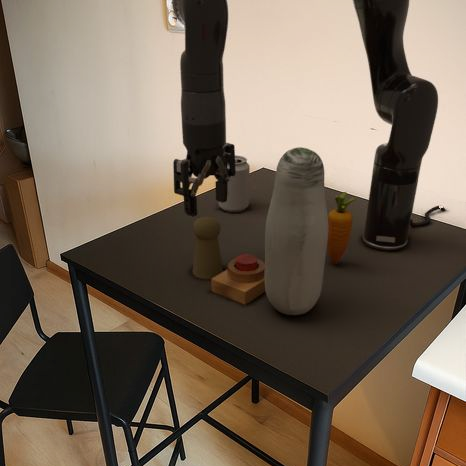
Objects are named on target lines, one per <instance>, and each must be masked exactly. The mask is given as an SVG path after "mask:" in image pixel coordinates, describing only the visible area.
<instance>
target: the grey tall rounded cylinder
mask: <svg viewBox="0 0 466 466" xmlns="http://www.w3.org/2000/svg"><path fill="white" fill-rule="evenodd" d="M273 185H274V186H273V191H272V196H271V200H270V204H269V207H268V212H267V216H266V221H265V231H264V233H265V234H264V264H265V294H266V298H267V300H268V302H269V303H270V304H271V306H272V307H273V308H274V309H275V310H276V311H278V312H280V313H281V314H283V315H287V316H299V315H304V314H306V313H307V312H309V311H311V310H312V309H313V308H314V306H315V305H316V304H317V302H318V300H319V299H320V296H321V294H322V289H323V284H324V276H325V265H326V257H327V252H328V249H327V242H328V214H329V213H328V207H327V202H326V201H327V200H326V189H325V188H326V187H325V166H324V162H323V160H322V158H321V156H320V155H319V154H318V152H316V151H314V150H312V149H310V148H307V147H294V148H291V149H288V150H287V151H285V152H284V154H282V156H281V157H280V159H279V160H278V163H277V165H276V170H275V179H274V184H273Z"/></svg>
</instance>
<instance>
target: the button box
mask: <svg viewBox="0 0 466 466" xmlns="http://www.w3.org/2000/svg"><path fill="white" fill-rule="evenodd" d="M210 280H211V281H210V282H211V292H213V293H215V294H217V295H220V296H222V297H225V298H227V299H230V300H232V301H235V302H237V303H240V304H242V305H247V304H249V303H250V302H252V301H253V300H255V299H256V298H258V297H259V296H261V295H262V294H264V293H266V291H265V261H263V260H262V259H259V258H257V269H256V270H253V271H240V270H238V269H236V258H233V259H232V260H229V262H228V264H227V269H225V270H223V272H222V273H220V274H219V275H217V276H215V277H213V278H212V279H210Z"/></svg>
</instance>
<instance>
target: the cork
mask: <svg viewBox="0 0 466 466" xmlns="http://www.w3.org/2000/svg"><path fill="white" fill-rule="evenodd" d="M192 232H193V234H194V236H195V245H194V255H193V264H192V265H193V266H192V274H193V276H194V277H196V278H198V279H202V280H211V279H212V278H213V277H215V276H217V275H219V274H220V273H222V272H224V268H223V261H222V256H221V248H220V242H219V235H220V233H221V224H220V222H219V220H218V219H217V218H214V217H211V216H203V217H199V218H197V219H195V220H194V223H193V225H192Z"/></svg>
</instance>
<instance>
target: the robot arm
mask: <svg viewBox="0 0 466 466" xmlns="http://www.w3.org/2000/svg"><path fill="white" fill-rule="evenodd" d="M171 4H172V12H173V14H174V16H175V18H176V19H177V21H178V22H179V23H180V24H181V25H183V26H184V50H183V51H182V52H181V55H180V60H179V63H180V64H179V69H180V70H179V71H180V87H181V88H180V89H181V93H180V114H181V116H180V117H181V130H182V131H181V132H182V133H181V134H182V135H181V136H182V145H183V147H184V148H185V149H186V156H185V158H183V159H179V158H175V159H174V160H173V163H172V164H173V165H172V167H173V193H174V194H176V195H179V196H182V197H183V207H184V208H183V210H184V213H185V214H186V215H187V216H190V217H196V216H197V215H198V202H197V201H198V200H197V196H196V195H197V192H198V190H199V187H200V186H202V185H203V183H204V181H205V179H209V177H210V176H214V178H215V179H216V180H215V181H214V183H215V185H214V186H215V200H216V201H217V202H218V201H219V202H222V203H224V202H226V201H227V196H228V182H229V180H230V177H231V176H235V174H236V168H235V155H236V148H235V144H233V143H230V142H227V116H226V115H227V113H226V112H227V110H226V109H227V108H226V105H227V103H226V97H225V87H224V86H225V85H224V83H225V82H224V78H225V77H224V55H225V49H226V44H227V36H228V35H227V34H228V28H229V4H228V0H172V3H171ZM352 4H353V8H354V11H355V14H356V18H357V23H358V26H359V30H360V35H361V39H362V42H363V47H364V50H365V54H366V58H367V63H368V70H369V77H370V84H371V93H372V99H373V105H374V108H375V111H376V114H377V116H378V117H379V118H380V119H381V120H382V121H383V122H385V123H386V124H388V125H391V128H390V132H389V137H388V141H387V142H385V143H382V144H379V145H378V146H377V147H376V148H375V151H374V157H373V166H372V173H371V181H370V188H369V194H368V203H367V209H366V217H365V224H364V231H363V235H362V242H363V243H364V244H365V245H366V246H368V247H369V248H372V249H375V250H379V251H386V252H387V251H389V252H390V251H398V250H402V249H404V248H405V247H406V246H407V245H408V238H409V232H410V227H413V228H414V227H415V228H417V227H418V228H419V227H422V226H426V225H428V224H430V223H431V217H430V216H429V215H430V214H432V213H433V212H435V211H438V210H440V211H441V212H446V208H445V207H444V206H443V208H441V209H440V208H439V206H440V205H436V206H433V207H431V208H430V209H428V210H427V211H426V212H425V213H424V218H425V220H423V221H420V222H414V221H413V218H412V216H413V210H414V204H415V200H416V194H417V188H418V183H419V178H420V172H421V166H422V163H423V158H424V156H425V155H426V154H427V152H428V149H429V146H430V143H431V139H432V135H433V130H434V126H435V122H436V119H437V113H438V107H439V95H438V90H437V87H436V86H435V85H434V84H433V82H431V81H430V80H427V79H424V78H421V77H418V76H416V75H413V74H412V73H411V71H410V68H409V64H408V60H407V55H406V53H405V45H404V33H405V27H406V23H407V19H408V13H409V8H410V0H352ZM227 163H228V164H229V168H230V169H228V168H227ZM192 176H194V177H192ZM190 187H191V188H190Z"/></svg>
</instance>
